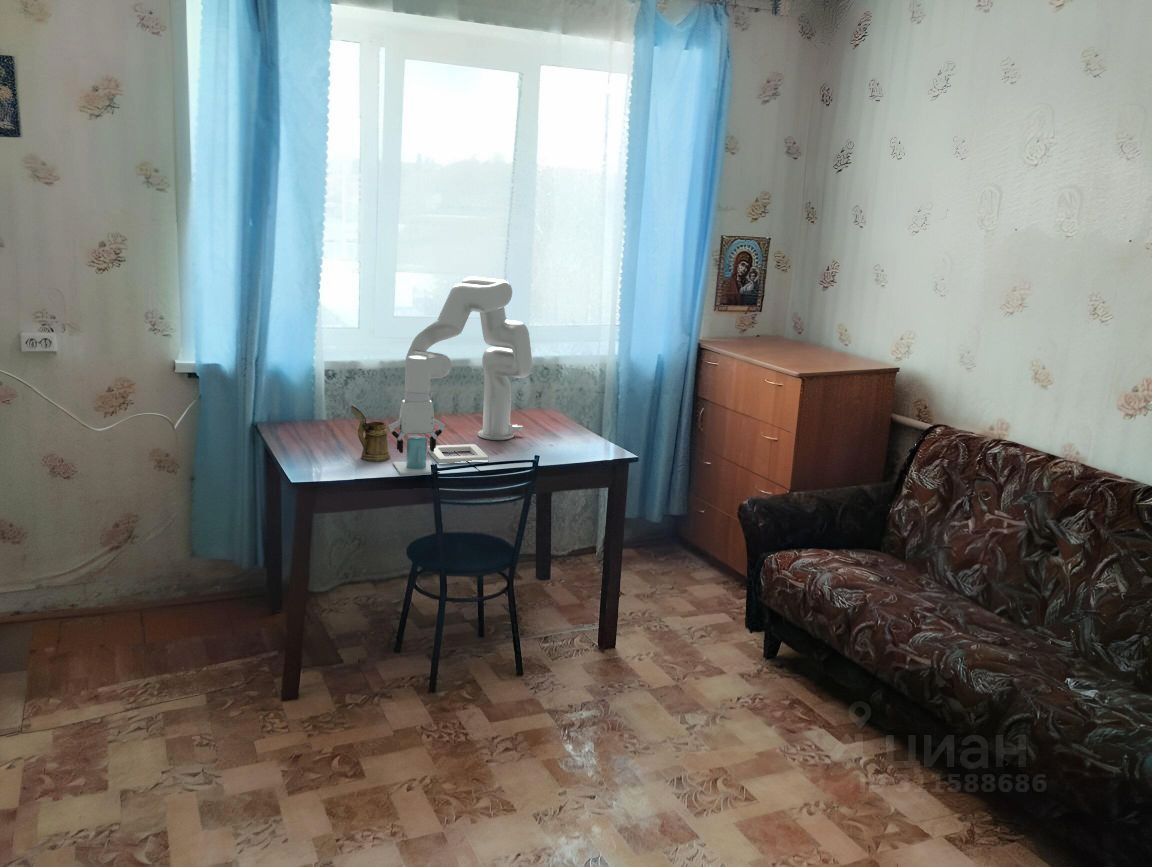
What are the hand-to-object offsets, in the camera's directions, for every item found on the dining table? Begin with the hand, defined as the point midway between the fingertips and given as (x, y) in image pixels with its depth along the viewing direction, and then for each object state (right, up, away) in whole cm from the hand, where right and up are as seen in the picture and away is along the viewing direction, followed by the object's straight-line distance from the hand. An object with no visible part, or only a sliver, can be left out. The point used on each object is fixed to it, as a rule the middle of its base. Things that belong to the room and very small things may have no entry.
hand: (416, 451), depth 302 cm
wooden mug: (-16, -3, +9) cm, 19 cm away
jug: (0, -5, +1) cm, 5 cm away
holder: (+11, -2, +17) cm, 20 cm away
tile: (0, -5, +1) cm, 6 cm away
